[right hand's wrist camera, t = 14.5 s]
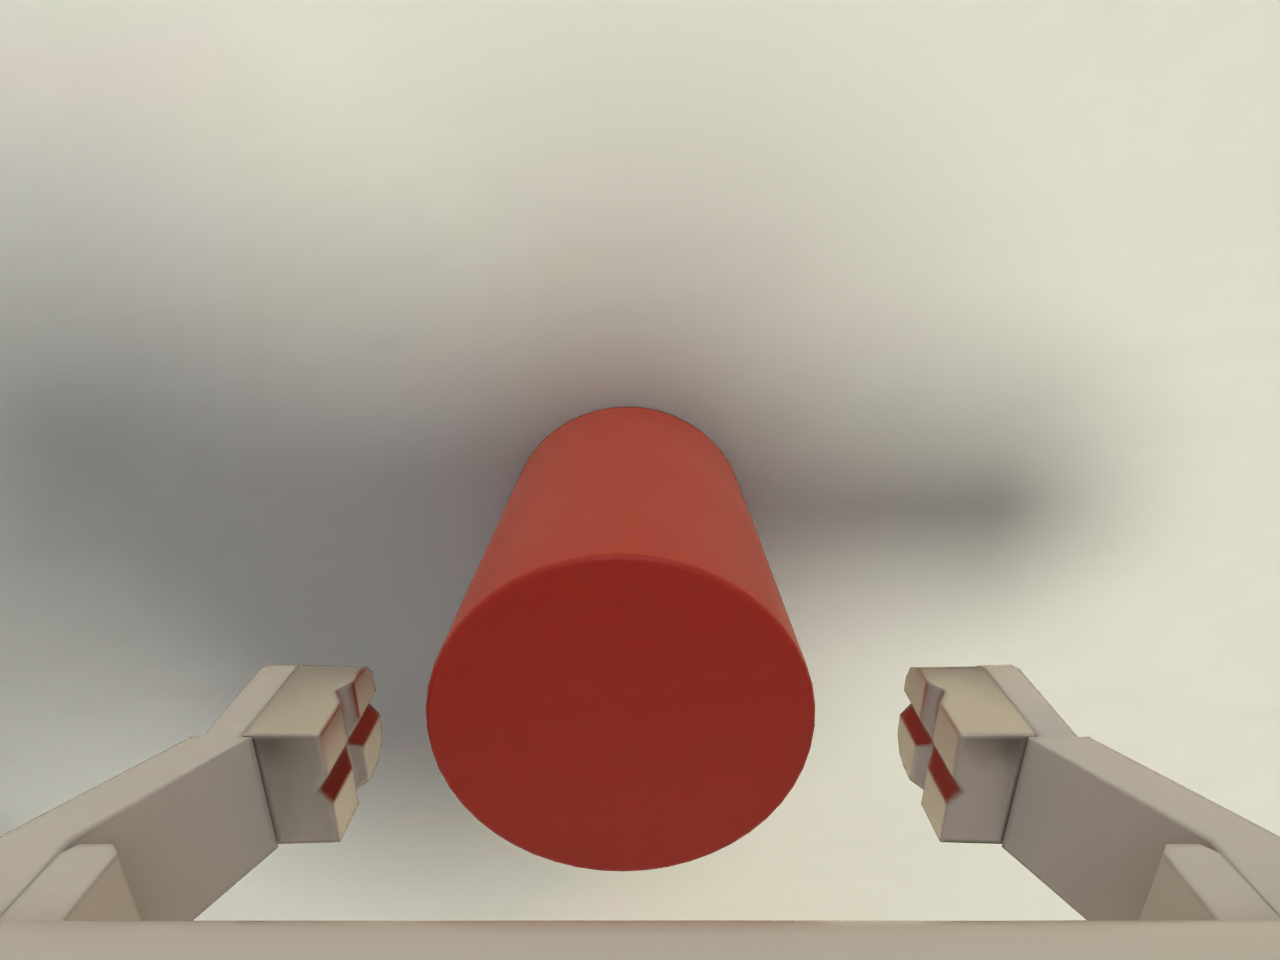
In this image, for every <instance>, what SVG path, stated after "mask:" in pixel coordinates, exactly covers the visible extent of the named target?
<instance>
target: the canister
mask: <svg viewBox="0 0 1280 960" xmlns="http://www.w3.org/2000/svg"><path fill="white" fill-rule="evenodd" d="M426 715H427V729H428V734H429V738H430V743H431V747H432V751H433V754H434V756H435V759H436V762H437V764H438V767H439V769H440V771H441V773H442V775H443V776H444V778H445V780H446V782H447V784H448V785H449V787H450V788H451V790H452V791H453V792H454V794H455V795H456V796H457V798H458V799H459V800H460V802H461V803H462V804H463V805H464V806H465V807H466V808H467V809H468V810H469V811H470V812H471V813H472V814H473V815H474V816H475V817H476V818H477V819H478V820H479V821H480V822H481V823H483V824H484V825H485V826H487V827H488V828H489V829H490V830H492V831H493V832H494V833H496V834H497V835H499V836H501V837H502V838H504V839H505V840H507V841H509V842H510V843H512V844H514V845H516V846H518V847H520V848H522V849H524V850H526V851H528V852H530V853H532V854H535V855H538V856H541V857H543V858H546V859H549V860H552V861H555V862H559V863H563V864H567V865H571V866H575V867H581V868H588V869H595V870H606V871H638V870H650V869H656V868H663V867H669V866H673V865H677V864H681V863H685V862H689V861H692V860H695V859H698V858H700V857H703V856H706V855H709V854H711V853H713V852H715V851H717V850H720V849H722V848H724V847H726V846H728V845H730V844H732V843H733V842H735V841H736V840H738V839H740V838H741V837H743V836H744V835H746V834H747V833H749V832H750V831H752V830H753V829H754V828H755V827H757V826H758V825H759V824H760V823H761V822H763V821H764V820H765V819H766V818H767V817H768V816H769V815H770V814H771V813H772V812H773V811H774V810H775V809H776V808H777V807H778V806H779V805H780V804H781V803H782V801H783V800H784V799H785V797H786V796H787V794H788V793H789V792H790V790H791V789H792V788H793V786H794V784H795V782H796V781H797V779H798V777H799V775H800V773H801V771H802V769H803V767H804V764H805V761H806V759H807V756H808V753H809V750H810V747H811V742H812V737H813V731H814V726H815V701H814V693H813V686H812V682H811V679H810V675H809V672H808V669H807V665H806V662H805V660H804V657H803V654H802V652H801V649H800V646H799V644H798V641H797V638H796V636H795V633H794V631H793V628H792V625H791V623H790V620H789V617H788V615H787V612H786V609H785V607H784V604H783V601H782V599H781V596H780V593H779V591H778V588H777V585H776V583H775V580H774V577H773V575H772V572H771V569H770V567H769V564H768V561H767V559H766V556H765V553H764V551H763V548H762V546H761V543H760V540H759V538H758V535H757V532H756V530H755V527H754V524H753V522H752V519H751V516H750V514H749V511H748V508H747V506H746V503H745V500H744V498H743V495H742V492H741V490H740V487H739V484H738V482H737V479H736V477H735V474H734V472H733V470H732V468H731V466H730V464H729V462H728V461H727V459H726V458H725V456H724V455H723V453H722V452H721V451H720V450H719V449H718V447H717V446H716V445H715V444H714V443H713V442H712V441H711V440H710V439H709V438H708V437H707V436H706V435H704V434H703V433H702V432H701V431H700V430H698V429H697V428H695V427H693V426H692V425H690V424H689V423H687V422H685V421H683V420H681V419H679V418H677V417H675V416H672V415H669V414H666V413H663V412H660V411H656V410H651V409H646V408H636V407H618V408H608V409H603V410H598V411H594V412H591V413H588V414H585V415H582V416H580V417H578V418H576V419H573V420H571V421H569V422H567V423H566V424H564V425H563V426H561V427H560V428H558V429H557V430H555V431H554V432H553V433H551V434H550V435H549V436H548V437H547V438H546V439H545V440H543V441H542V443H541V444H540V445H539V446H538V447H537V448H536V450H535V451H534V452H533V453H532V455H531V456H530V458H529V459H528V461H527V463H526V464H525V466H524V468H523V470H522V473H521V475H520V477H519V479H518V481H517V484H516V486H515V488H514V490H513V492H512V495H511V497H510V499H509V501H508V503H507V506H506V508H505V510H504V512H503V514H502V516H501V519H500V521H499V523H498V525H497V527H496V530H495V532H494V534H493V536H492V538H491V541H490V543H489V545H488V547H487V549H486V552H485V554H484V556H483V558H482V560H481V563H480V565H479V567H478V569H477V571H476V574H475V576H474V578H473V580H472V582H471V585H470V587H469V589H468V591H467V593H466V596H465V598H464V600H463V602H462V604H461V607H460V609H459V611H458V613H457V615H456V618H455V620H454V622H453V624H452V626H451V628H450V631H449V633H448V635H447V637H446V639H445V642H444V644H443V646H442V648H441V650H440V653H439V655H438V657H437V659H436V661H435V664H434V667H433V670H432V674H431V677H430V681H429V685H428V692H427V702H426Z"/></svg>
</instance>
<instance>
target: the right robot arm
mask: <svg viewBox="0 0 1280 960" xmlns="http://www.w3.org/2000/svg"><path fill="white" fill-rule="evenodd" d="M375 691H376V687H375V682H374V677H373V672H372V671H371V670H370V669H369V668H368V667H366V666H320V665H302V666H299V665H269V666H266V667H263V668H261V669H260V670H259V671H258V672H257V674H256V675H255V676H254V677H253V678H252V679H251V681H250V682H249V683H248V684H247V685H246V686H245V688H244V689H243V690H242V691H241V692H240V693H239V695H238V696H237V697H236V698H235V699H234V700H233V702H232V703H231V704H230V705H229V706H228V707H227V709H226V710H225V711H224V712H223V713H222V714H221V716H220V717H219V718H218V719H217V720H216V721H215V723H214V724H213V725H212V726H211V727H210V728H209V730H208V731H207V732H206V733H205V734H204V735H203V737H190V738H188V739H187V740H185V741H183V742H181V743H179V744H177V745H175V746H173V747H171V748H169V749H167V750H165V751H163V752H162V753H160V754H158V755H156V756H154V757H152V758H150V759H148V760H146V761H144V762H142V763H140V764H138V765H137V766H135V767H133V768H131V769H129V770H127V771H125V772H123V773H121V774H119V775H117V776H115V777H114V778H112V779H110V780H108V781H106V782H104V783H102V784H100V785H98V786H96V787H94V788H92V789H90V790H89V791H87V792H85V793H83V794H81V795H79V796H77V797H75V798H73V799H71V800H69V801H67V802H65V803H64V804H62V805H60V806H58V807H56V808H54V809H52V810H50V811H48V812H46V813H44V814H42V815H40V816H39V817H37V818H35V819H33V820H31V821H29V822H27V823H25V824H23V825H21V826H19V827H17V828H16V829H14V830H12V831H10V832H8V833H6V834H4V835H2V836H0V960H1280V837H1279V836H1277V835H1275V834H1274V833H1272V832H1270V831H1268V830H1266V829H1264V828H1262V827H1260V826H1258V825H1256V824H1254V823H1252V822H1251V821H1249V820H1247V819H1245V818H1243V817H1241V816H1239V815H1237V814H1235V813H1233V812H1231V811H1230V810H1228V809H1226V808H1224V807H1222V806H1220V805H1218V804H1216V803H1214V802H1212V801H1210V800H1208V799H1207V798H1205V797H1203V796H1201V795H1199V794H1197V793H1195V792H1193V791H1191V790H1189V789H1187V788H1185V787H1184V786H1182V785H1180V784H1178V783H1176V782H1174V781H1172V780H1170V779H1168V778H1166V777H1164V776H1162V775H1161V774H1159V773H1157V772H1155V771H1153V770H1151V769H1149V768H1147V767H1145V766H1143V765H1141V764H1139V763H1138V762H1136V761H1134V760H1132V759H1130V758H1128V757H1126V756H1124V755H1122V754H1120V753H1118V752H1116V751H1115V750H1113V749H1111V748H1109V747H1107V746H1105V745H1103V744H1101V743H1099V742H1097V741H1095V740H1093V739H1092V738H1090V737H1077V735H1076V734H1075V733H1074V732H1073V731H1072V730H1071V728H1070V727H1069V726H1068V725H1067V724H1066V723H1065V721H1064V720H1063V719H1062V718H1061V717H1060V716H1059V714H1058V713H1057V712H1056V711H1055V710H1054V709H1053V707H1052V706H1051V705H1050V704H1049V703H1048V702H1047V700H1046V699H1045V698H1044V697H1043V696H1042V695H1041V693H1040V692H1039V691H1038V690H1037V689H1036V688H1035V686H1034V685H1033V684H1032V683H1031V682H1030V681H1029V679H1028V678H1027V677H1026V676H1025V675H1024V674H1023V672H1022V671H1021V670H1020V669H1019V668H1017V667H1015V666H1013V665H982V666H977V667H911V668H910V670H909V672H908V674H907V676H906V681H905V687H904V691H905V693H906V695H907V697H908V698H909V700H910V702H911V704H910V705H909V706H908V707H907V708H906V709H905V710H904V711H903V712H902V713H901V714H900V719H899V727H898V742H899V752H900V756H901V759H902V763H903V766H904V768H905V771H906V773H907V775H908V777H909V779H910V780H911V781H912V782H914V783H915V784H916V785H918V786H919V787H921V788H922V789H923V790H924V791H923V797H922V803H921V804H922V806H923V808H924V810H925V812H926V814H927V816H928V818H929V820H930V822H931V824H932V826H933V829H934V831H935V833H936V835H937V837H938V839H939V841H940V842H957V843H993V844H1002V847H1003V848H1004V849H1005V850H1006V851H1007V852H1009V853H1010V854H1011V855H1012V856H1013V857H1014V858H1016V859H1017V860H1018V861H1019V862H1020V863H1021V864H1023V865H1024V866H1025V867H1026V868H1027V869H1028V870H1029V871H1031V872H1032V873H1033V874H1034V875H1035V876H1036V877H1038V878H1039V879H1040V880H1041V881H1042V882H1043V883H1045V884H1046V885H1047V886H1048V887H1049V888H1050V889H1052V890H1053V891H1054V892H1055V893H1056V894H1057V895H1058V896H1060V897H1061V898H1062V899H1063V900H1064V901H1065V902H1067V903H1068V904H1069V905H1070V906H1071V907H1072V908H1074V909H1075V910H1076V911H1077V912H1078V913H1079V914H1081V915H1082V916H1083V917H1084V918H1085V919H1086V920H1087V921H193V920H194V919H195V918H196V917H197V916H199V915H200V914H201V913H202V912H203V911H204V910H205V909H207V908H208V907H209V906H210V905H211V904H212V903H214V902H215V901H216V900H217V899H218V898H219V897H221V896H222V895H223V894H224V893H225V892H226V891H228V890H229V889H230V888H231V887H232V886H233V885H235V884H236V883H237V882H238V881H239V880H240V879H242V878H243V877H244V876H245V875H246V874H247V873H249V872H250V871H251V870H252V869H253V868H254V867H255V866H257V865H258V864H259V863H260V862H261V861H262V860H264V859H265V858H266V857H267V856H268V855H269V854H271V853H272V852H273V851H274V850H275V849H276V848H278V844H287V843H321V842H340V841H341V839H342V837H343V835H344V833H345V831H346V829H347V827H348V825H349V823H350V820H351V818H352V816H353V814H354V812H355V810H356V808H357V806H358V804H359V803H358V797H357V791H356V790H357V789H358V788H359V787H361V786H362V785H364V784H365V783H366V782H368V781H369V780H370V779H371V777H372V775H373V773H374V770H375V768H376V766H377V764H378V759H379V755H380V750H381V745H382V725H381V718H380V714H379V713H378V712H377V711H376V710H375V709H374V708H373V707H372V706H371V705H370V704H369V702H370V700H371V698H372V697H373V695H374V693H375Z"/></svg>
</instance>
